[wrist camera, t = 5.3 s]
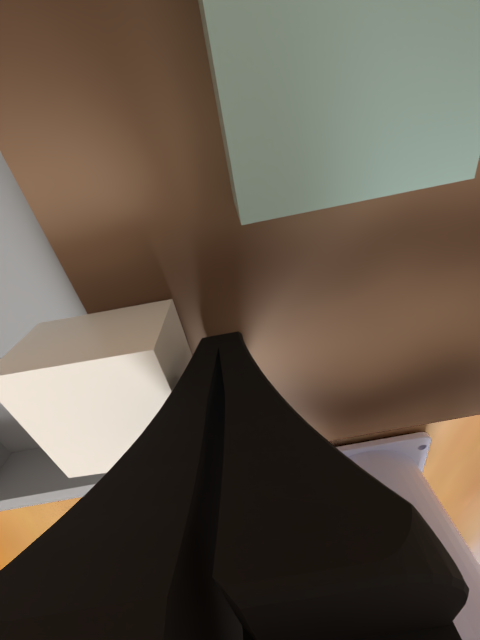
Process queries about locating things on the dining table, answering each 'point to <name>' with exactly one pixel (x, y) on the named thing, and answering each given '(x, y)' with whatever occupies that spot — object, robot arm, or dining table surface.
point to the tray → (15, 323)
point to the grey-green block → (343, 98)
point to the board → (233, 223)
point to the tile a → (94, 382)
